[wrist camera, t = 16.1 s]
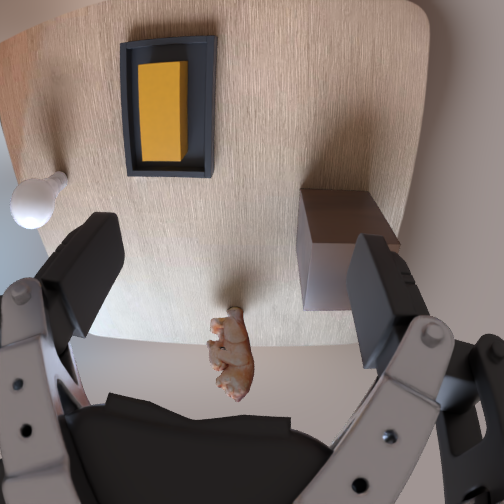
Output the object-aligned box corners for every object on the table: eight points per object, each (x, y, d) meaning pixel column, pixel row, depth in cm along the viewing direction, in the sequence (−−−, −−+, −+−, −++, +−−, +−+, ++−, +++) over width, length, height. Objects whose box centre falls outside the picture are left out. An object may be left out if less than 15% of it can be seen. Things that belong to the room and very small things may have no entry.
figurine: (214, 299, 50) (200, 379, 38) (260, 307, 50) (258, 388, 38) (210, 323, 53) (197, 398, 41) (252, 331, 54) (248, 406, 42)
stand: (300, 188, 38) (312, 242, 28) (368, 191, 38) (401, 244, 28) (295, 247, 43) (303, 311, 34) (357, 248, 43) (379, 309, 33)
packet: (149, 63, 29) (138, 64, 26) (188, 60, 29) (179, 61, 26) (152, 151, 35) (142, 161, 32) (188, 151, 35) (180, 161, 32)
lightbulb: (87, 182, 38) (45, 222, 29) (64, 204, 40) (24, 246, 31) (61, 148, 35) (13, 182, 26) (39, 174, 37) (-5, 210, 28)
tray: (217, 36, 27) (214, 35, 26) (213, 171, 37) (211, 178, 36) (127, 43, 27) (119, 43, 26) (133, 170, 37) (127, 176, 35)
